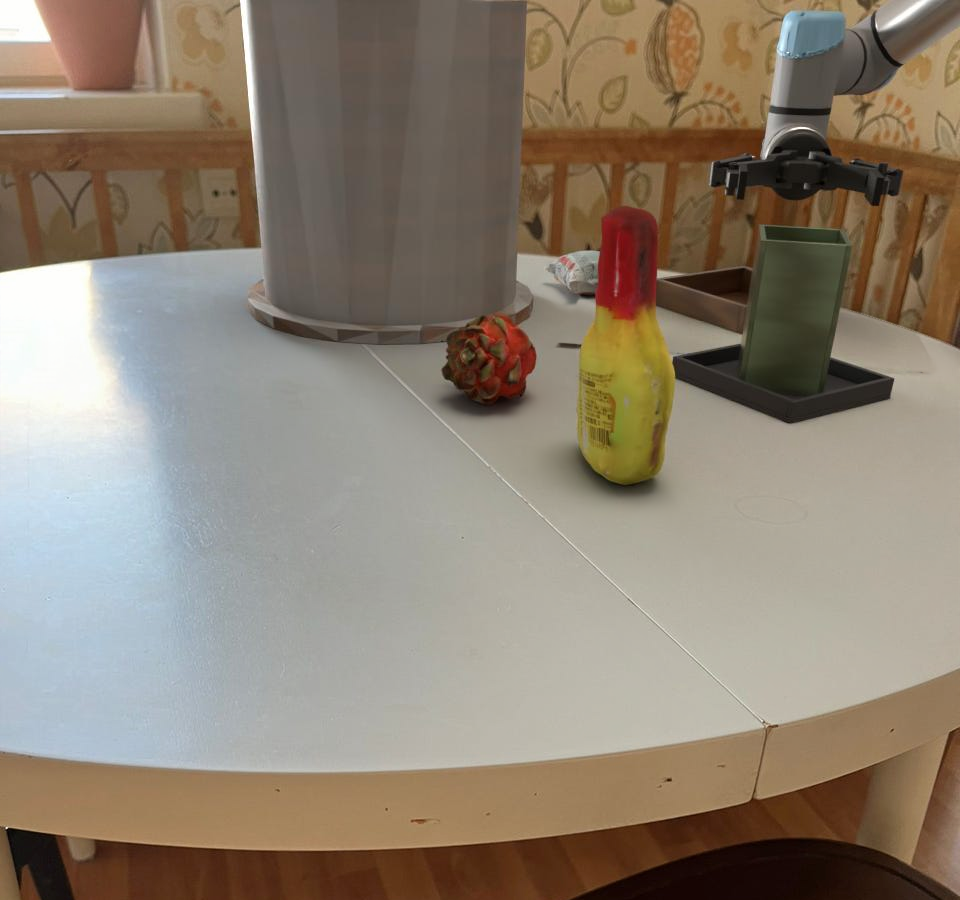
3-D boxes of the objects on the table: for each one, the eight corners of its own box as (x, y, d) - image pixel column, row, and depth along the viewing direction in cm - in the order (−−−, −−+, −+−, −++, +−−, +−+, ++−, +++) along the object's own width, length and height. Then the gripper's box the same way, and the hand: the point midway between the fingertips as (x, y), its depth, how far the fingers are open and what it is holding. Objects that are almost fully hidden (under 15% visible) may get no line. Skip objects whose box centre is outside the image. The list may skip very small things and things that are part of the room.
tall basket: (816, 373, 107) (844, 229, 100) (822, 397, 101) (852, 245, 93) (737, 366, 109) (759, 224, 101) (737, 390, 102) (761, 240, 95)
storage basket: (311, 360, 109) (287, -4, 92) (210, 286, 135) (178, -9, 118) (588, 322, 124) (612, 3, 107) (450, 262, 150) (452, -2, 133)
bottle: (555, 443, 90) (570, 195, 80) (625, 439, 92) (649, 193, 81) (599, 499, 80) (623, 224, 70) (677, 493, 82) (712, 222, 71)
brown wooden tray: (832, 321, 127) (838, 291, 125) (740, 339, 119) (745, 307, 117) (739, 293, 138) (743, 265, 136) (650, 308, 130) (653, 278, 128)
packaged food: (567, 304, 131) (570, 263, 128) (543, 282, 141) (545, 244, 138) (633, 303, 133) (638, 263, 130) (604, 282, 142) (608, 243, 140)
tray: (890, 398, 103) (895, 378, 102) (790, 423, 96) (794, 402, 95) (767, 355, 114) (770, 337, 113) (670, 375, 107) (672, 356, 106)
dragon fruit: (469, 436, 96) (488, 411, 107) (547, 385, 93) (559, 365, 104) (417, 355, 94) (441, 339, 104) (495, 301, 91) (512, 290, 102)
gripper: (898, 201, 126) (927, 233, 108) (688, 191, 129) (682, 220, 112) (913, 132, 122) (945, 154, 104) (696, 124, 126) (691, 143, 108)
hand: (809, 188), depth 108 cm, fingers open, 13 cm apart
